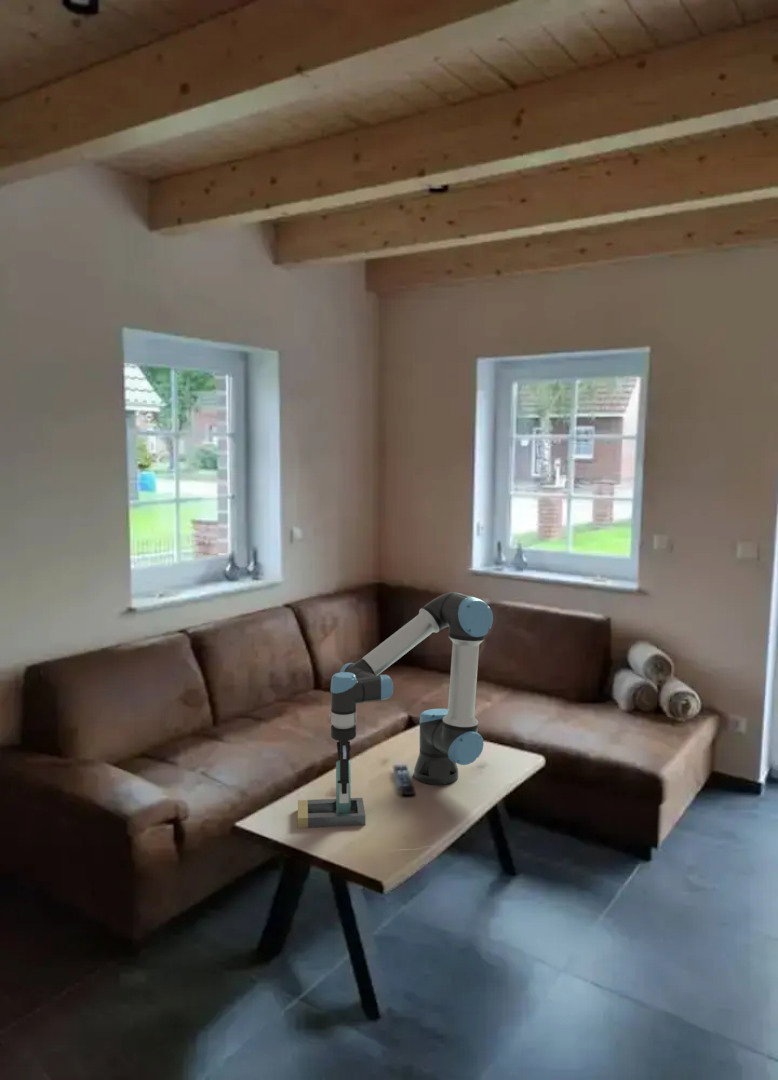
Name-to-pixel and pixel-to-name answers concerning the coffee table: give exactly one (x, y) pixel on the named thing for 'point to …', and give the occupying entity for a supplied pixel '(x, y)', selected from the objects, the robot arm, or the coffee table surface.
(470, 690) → the robot arm
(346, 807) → the peg
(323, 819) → the keyhole plate
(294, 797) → the coffee table surface
